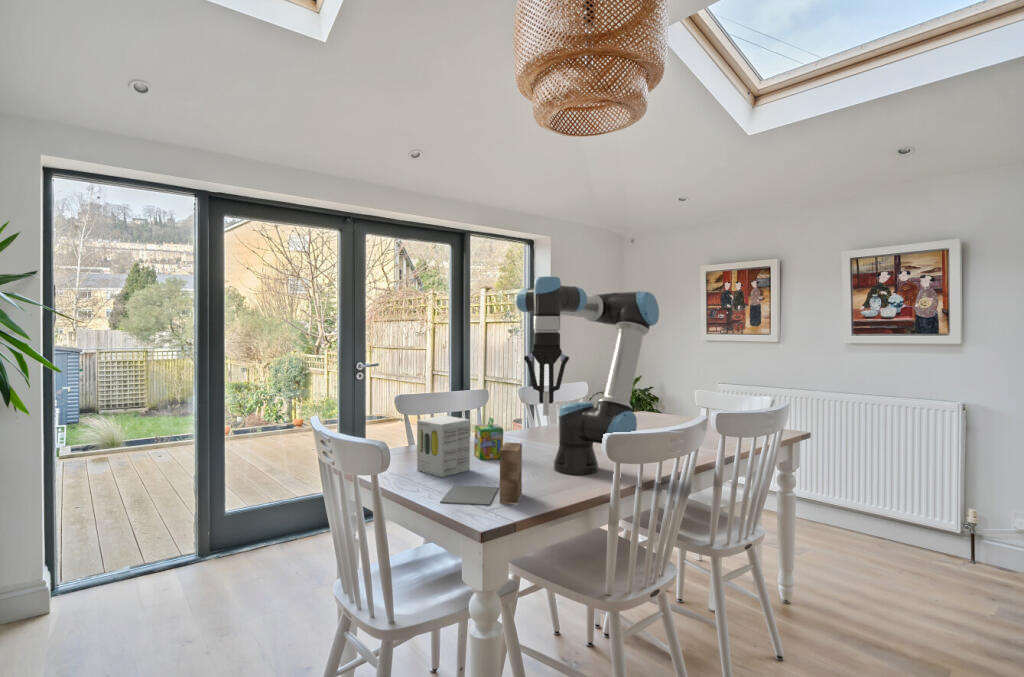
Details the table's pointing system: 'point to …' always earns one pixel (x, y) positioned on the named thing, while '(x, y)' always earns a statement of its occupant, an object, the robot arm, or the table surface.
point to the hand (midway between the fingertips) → (546, 414)
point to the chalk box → (488, 441)
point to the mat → (470, 495)
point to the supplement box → (443, 445)
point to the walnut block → (510, 473)
